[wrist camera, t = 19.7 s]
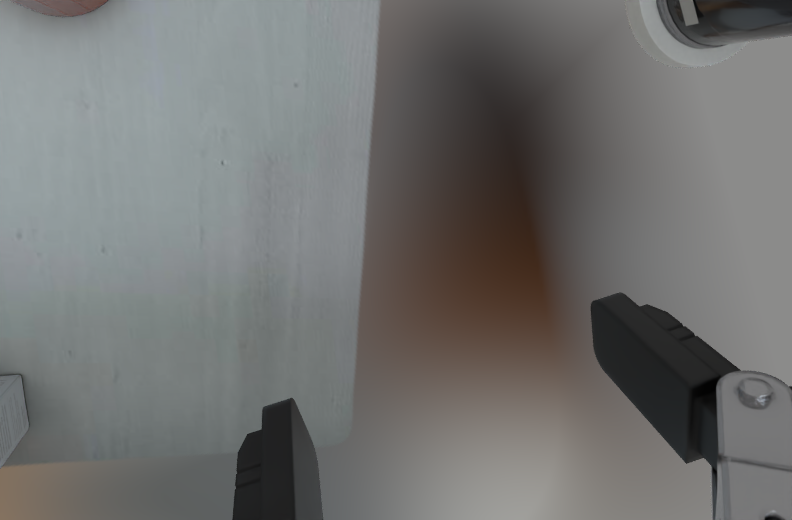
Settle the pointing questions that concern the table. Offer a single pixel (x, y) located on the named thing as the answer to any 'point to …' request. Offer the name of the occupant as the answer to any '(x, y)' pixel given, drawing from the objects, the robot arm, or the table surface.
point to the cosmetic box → (11, 415)
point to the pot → (61, 6)
